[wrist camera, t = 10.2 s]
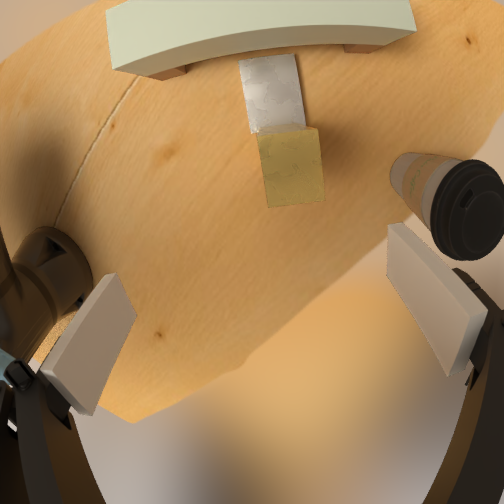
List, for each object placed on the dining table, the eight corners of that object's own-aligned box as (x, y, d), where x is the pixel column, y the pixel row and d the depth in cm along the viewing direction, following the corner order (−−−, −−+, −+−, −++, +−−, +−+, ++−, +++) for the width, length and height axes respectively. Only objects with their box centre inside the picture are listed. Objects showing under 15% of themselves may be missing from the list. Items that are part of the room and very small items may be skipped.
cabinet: (161, 80, 28) (112, 69, 17) (153, 30, 25) (104, 2, 14) (368, 53, 25) (417, 31, 14) (357, 3, 22) (396, -36, 11)
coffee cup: (384, 131, 29) (457, 151, 16) (444, 149, 29) (524, 179, 16) (370, 205, 34) (427, 264, 20) (430, 215, 34) (495, 271, 20)
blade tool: (258, 170, 32) (254, 209, 20) (238, 62, 27) (220, 27, 14) (309, 164, 32) (339, 199, 19) (292, 55, 26) (312, 17, 14)
